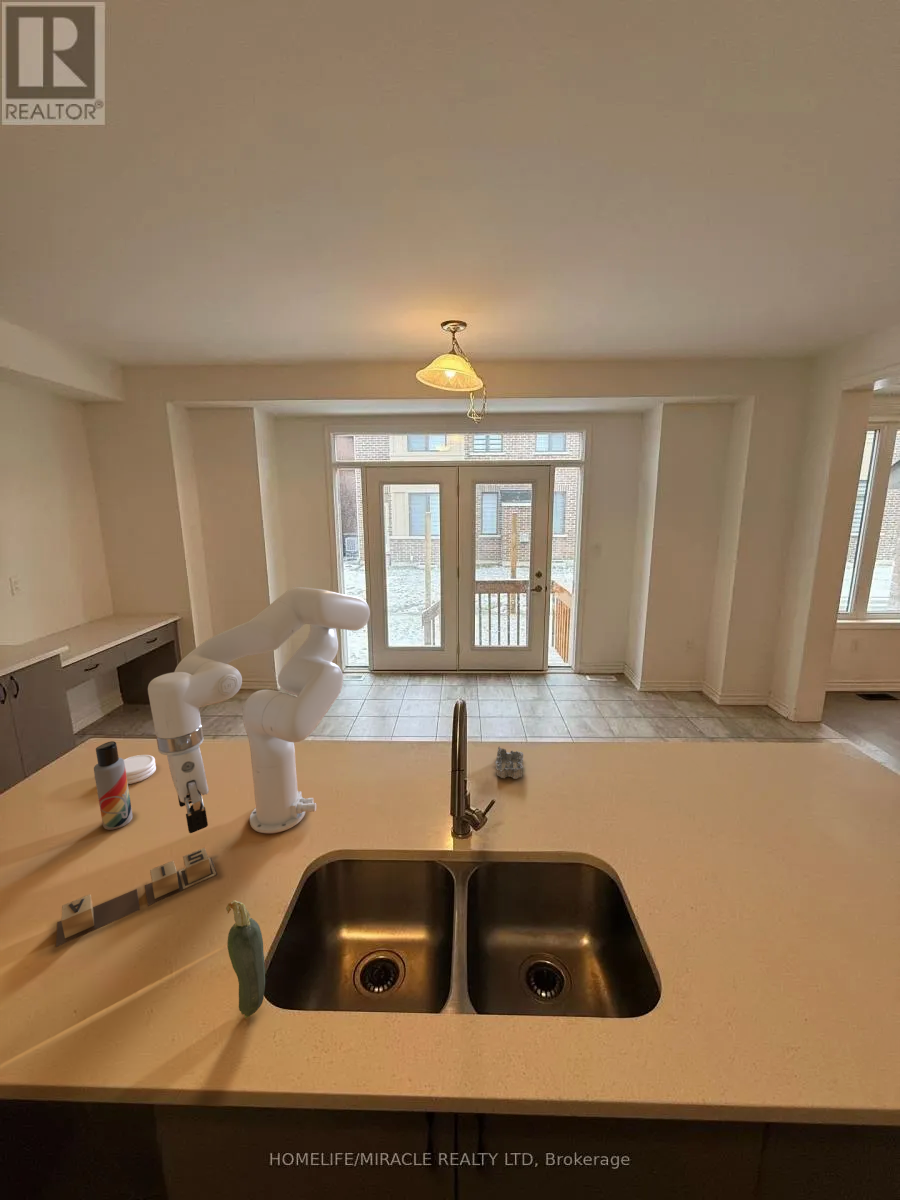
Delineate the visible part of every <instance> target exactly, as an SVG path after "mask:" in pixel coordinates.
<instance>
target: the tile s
mask: <svg viewBox="0 0 900 1200" xmlns="http://www.w3.org/2000/svg"><path fill="white" fill-rule="evenodd" d="M209 858H210V857H209V854H208V853H207V850H206V847H202V848H200V849H198V850H195V851H192V852H190V853H187V854H185V855H183V856H182V862H183V869H184V870H185V874H186V878H187V881H188V884H189V883H192V882H194V881H196V880H199V879H201V878H203V877H205V876H208V875H210V874H211V872H210V864H209Z"/></svg>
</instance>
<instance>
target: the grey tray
mask: <svg viewBox="0 0 900 1200" xmlns="http://www.w3.org/2000/svg"><path fill="white" fill-rule="evenodd" d="M208 858H209V864H210V872H211V874H210V875H208V876H205V877H203V878H201V879H199V880H196V881H194V882H192V883H189V884H188V881H187V878H186V874H185V870H184V868H182V869H179V870H177V868H176V865H175V861H174V860H171V861H168V862H166V863H164V864H160V865H158V866H156V867H154V868H151V869H149V873H150V880H151V882H150V883H147V884H145V885H144V891H145V895H146V896H145V897H146V902H147V906H148V907H149V906H152V905H155V904H156V903H158V902H161V901H163V900H166V899H167V898H169V897H173V896H174V895H176V894H179V893H181V892H183V891H186V890H188V889H190V888H192V887H195V886H196V885H197V886H198V885H199V884H201V883H203V882H205V881H208V880H210V879H212V878H214V877H217V876H219V875H218V872H217V870H216V867H215V863H214V861H213V858H212V857H208Z"/></svg>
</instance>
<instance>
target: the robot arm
mask: <svg viewBox="0 0 900 1200" xmlns="http://www.w3.org/2000/svg"><path fill="white" fill-rule="evenodd" d="M370 617H371V610H370V606H369V604H368V603H367V601H366V600H365V599H364V598H362V597H361V596H360V597H359V596H354V595H350V594H344V593H340V592H335V591H332V590H327V589H321V588H313V587H305V586H296V587H292V588H289V589H288V590H286V591H285V592H284V593H282V594H281V595H280V596H279V597H277V598H276V599H275V600H274V601H272V602H271V603H270V604H269V605H268V606H266V607H265V608H264V609H262V610H261V611H260V612H259V613H257V615H255V616H254V617H253V618H251V619H250V620H248V621H246V622H244V623H241V624H239V625H236V626H234V627H231V628H229V629H227V630H224V631H222V632H219V633H218V634H215V635H213V636H212V637H210V638H208V639H206V640H204V641H203V642H202V643H201V644H199V645H198V646H197V647H195V648H194V649H193V650H191V651H190V652H189V653H188V654H186V655H185V656H184V657H183V658H182V659H181V660H180V661H179V662H178V664H177V665H176V667H175V670H174V671H173V672H167V673H163V674H161V675H159V676H157V677H154V678H152V679H151V680H150V682H149V683H148V686H147V695H148V699H149V705H150V711H151V716H152V722H153V727H154V728H153V729H154V733H155V739H156V745H157V750H158V753H159V754H161V755H164V756H166V757H167V763H168V768H169V772H170V777H171V779H172V783H173V786H174V788H175V789H174V790H175V791H176V794H177V800H178V805H179V807H181V808H182V807H185V809H186V813H185V819H186V825H187V830H188V833H189V834H193V833H195V832H198V831H200V830H203V829H205V828H207V827H208V826H209V823H208V822H209V821H208V817H207V810H206V807H205V804H204V799H203V796H205V795H206V796H207V795H208V794H209V792H210V789H209V785H208V781H207V775H206V770H205V764H204V759H203V755H202V751H201V748H200V746H201V745H202V744H203V742H204V740H205V738H204V733H203V724H202V720H201V719H202V718H201V713H200V708H203V707H206V706H210V705H215V704H219V703H223V702H225V701H227V700H230V699H231V698H233V697H234V696H235V695H236V694H237V693H238V692H239V691H240V690H241V687H242V685H243V677H242V676H243V675H242V673H241V672H240V670H239V669H237V668H236V667H235V666H233V665H231V664H230V663H233V662H234V661H236V660H239V659H242V658H246V657H250V656H257V655H262V654H266V653H270V652H273V651H276V650H278V649H280V647H281V646H282V645H283V644H284V643H285V642H287V641H288V640H289V639H290V638H291V637H292V636H293V635H294V634H296V632H298V631H299V630H300V629H301V628H302V627H303V626H304V625H309V632H308V634H307V635H308V636H307V637H306V639H305V641H303V643H302V644H301V645H300V647H298V649H297V650H296V651H295V652H294V653H293V655H292V656H291V657H289V659H288V660H287V661H286V663H285V664H284V665H283V667H282V668H281V669H280V671H279V673H278V676H277V683H278V685H279V687H280V688H281V689H282V690H283V691H285V692H283V691H279V690H276V689H275V690H274V689H268V688H267V689H260V690H257V691H255V692H253V693H252V694H250V695H249V696H248V697H247V699H246V700H245V702H244V703H243V707H242V712H241V713H242V715H241V716H242V717H241V718H242V722H243V726H244V730H245V732H246V736H247V740H248V744H249V752H250V760H251V761H250V762H251V772H252V782H253V793H254V801H255V802H254V803H255V804H254V805H255V808H254V809H253V810H252V811H251V813H250V815H249V825H250V827H251V829H252V830H254V831H255V832H258V833H260V834H276V833H282V832H284V831H287V830H289V829H291V828H293V827H294V826H297V824H299V823H300V822H301V821H302V820H303V819H304V817H305V816H306V812H307V813H315V812H316V811H317V807H318V806H317V805H318V804H317V802H314V801H315V799H314V797H308V798H307V797H306V798H305V797H303V794H302V793H303V791H301V790H300V791H299V790H298V778H297V777H298V776H297V765H296V762H297V761H296V750H295V749H296V747H295V743H300V742H302V741H304V740H306V739H307V738H309V736H310V735H311V734H312V733H313V732H314V731H315V729H316V728H317V727H318V725H319V724H320V723H321V721H322V720H323V718H324V717H325V716H326V714H327V713H328V712H329V710H330V709H331V708H332V706H333V705H334V703H335V702H336V700H337V699H338V698H339V695H340V694H341V691H342V689H343V685H344V674H343V671H342V669H341V667H340V666H339V665H338V664H337V663H335V662H333V661H334V659H335V658H336V656H337V655H338V651H339V639H338V633H337V630H346V631H359V630H361V629H363V628H364V627H366V625H367V624H368V623H369V620H370Z"/></svg>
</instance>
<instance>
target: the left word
mask: <svg viewBox="0 0 900 1200" xmlns="http://www.w3.org/2000/svg"><path fill="white" fill-rule="evenodd" d="M140 910H141V907H140V900H139V894H138V888H135V889H133V890H131V891H128V892H126V893H124V894H121V895H119V896H116V897H114V898H112V899H109V900H107V901H104V902H101V903H100V904H97V905H95V906H94V903H93V899H92V894H91V893H89V894H87V895H84V896H82V897H80V898H76V899H74V900H72V901H70V902H67V903H65V904H62V905H61V920H59V921H57V923H56V941H55V942H56V943H55V947H56V948H58V947H60V946H62V945H65V944H66V943H69V942H71V941H74V940H75V939H78V938H81V937H83V936H85V935H87V934H89V933H91V932H93V931H96V930H98V929H101V928H102V927H104V926H107V925H109V924H111V923H113V922H116V921H119V920H121V919H123V918H125V917H127V916H130V915H133V914H134V913H137V912H139V911H140Z"/></svg>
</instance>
